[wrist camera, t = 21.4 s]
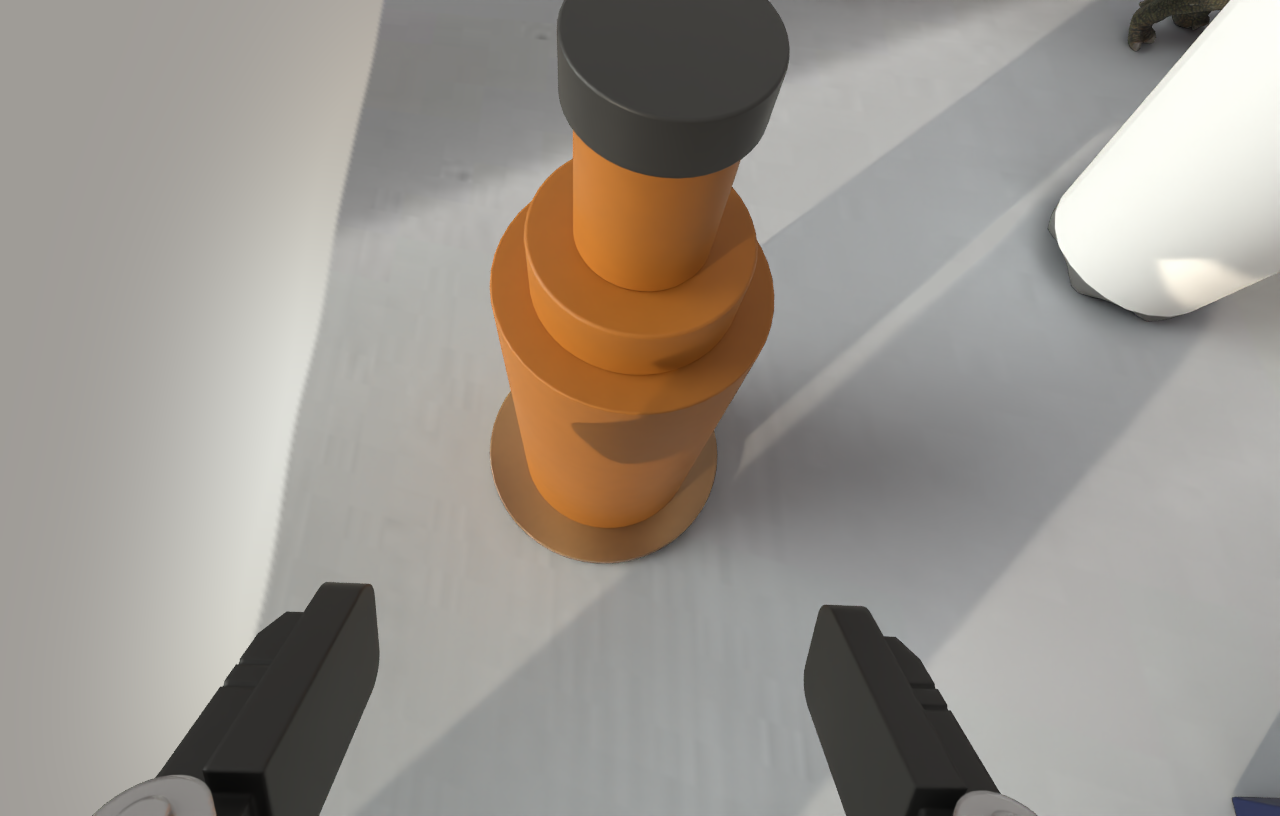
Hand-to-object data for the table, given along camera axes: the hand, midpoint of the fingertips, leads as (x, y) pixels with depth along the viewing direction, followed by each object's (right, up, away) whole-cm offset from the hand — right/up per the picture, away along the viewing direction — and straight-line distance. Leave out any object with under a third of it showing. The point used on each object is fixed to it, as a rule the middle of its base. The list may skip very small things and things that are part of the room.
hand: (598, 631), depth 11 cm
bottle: (0, +3, +12) cm, 12 cm away
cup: (+23, +11, +19) cm, 32 cm away
